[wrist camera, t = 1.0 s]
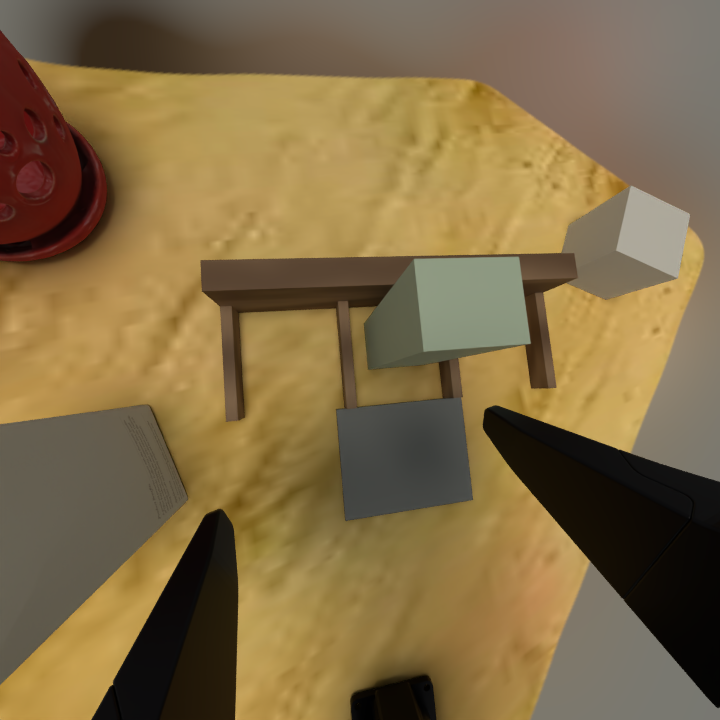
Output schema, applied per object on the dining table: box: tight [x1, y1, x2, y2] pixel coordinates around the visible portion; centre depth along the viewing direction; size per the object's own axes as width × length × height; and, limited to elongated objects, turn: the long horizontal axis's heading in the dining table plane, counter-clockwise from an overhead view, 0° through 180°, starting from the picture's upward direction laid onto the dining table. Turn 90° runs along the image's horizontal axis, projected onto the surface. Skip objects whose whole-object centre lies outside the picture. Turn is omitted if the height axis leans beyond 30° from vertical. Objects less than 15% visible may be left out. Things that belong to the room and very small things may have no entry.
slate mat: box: [336, 397, 473, 521], centre depth 24 cm, size 9×11×1 cm
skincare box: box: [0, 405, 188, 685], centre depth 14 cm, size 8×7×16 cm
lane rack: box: [201, 253, 578, 422], centre depth 23 cm, size 10×27×6 cm, turn 95°
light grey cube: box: [562, 186, 690, 300], centre depth 26 cm, size 6×6×6 cm
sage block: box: [364, 257, 531, 369], centre depth 19 cm, size 4×5×13 cm
